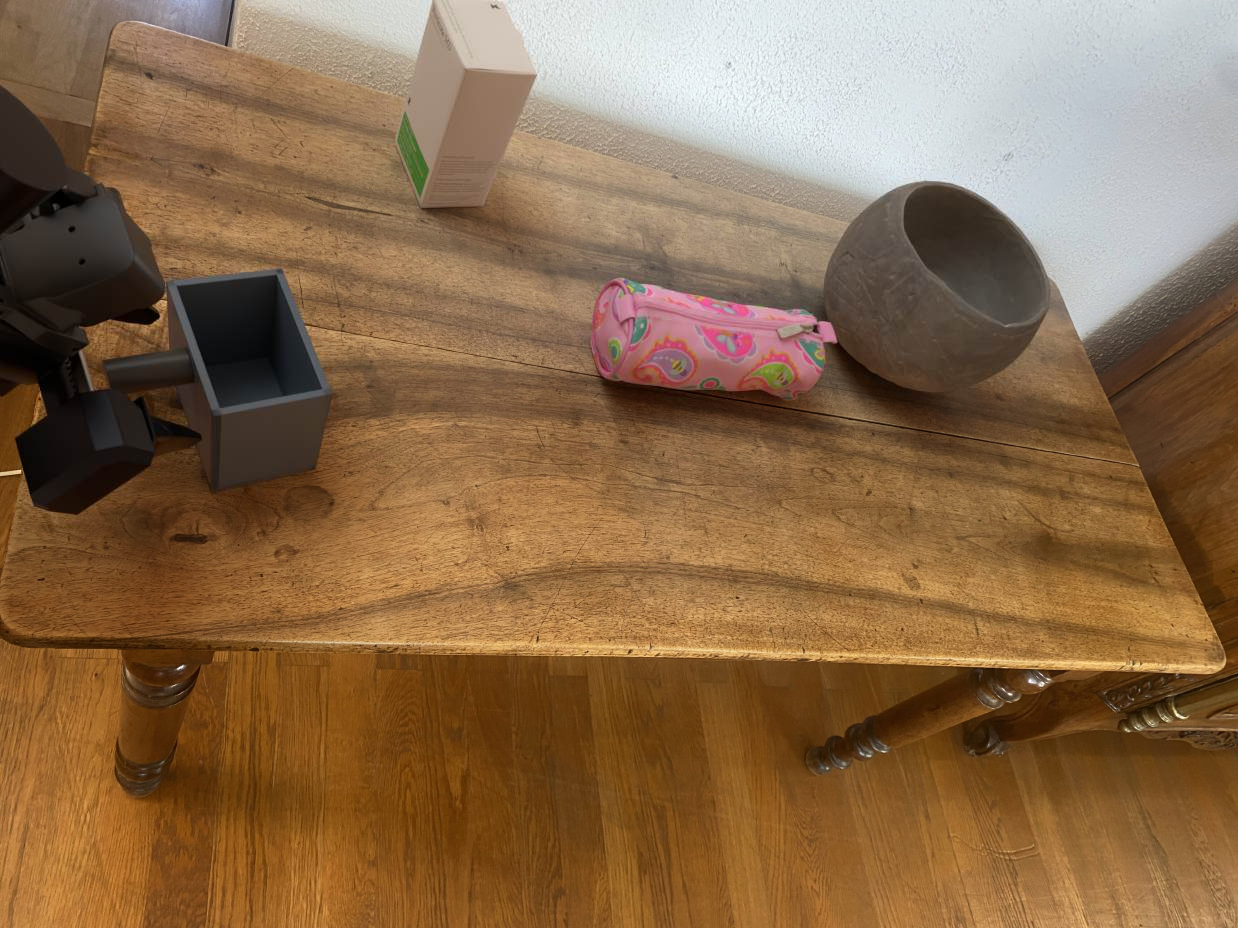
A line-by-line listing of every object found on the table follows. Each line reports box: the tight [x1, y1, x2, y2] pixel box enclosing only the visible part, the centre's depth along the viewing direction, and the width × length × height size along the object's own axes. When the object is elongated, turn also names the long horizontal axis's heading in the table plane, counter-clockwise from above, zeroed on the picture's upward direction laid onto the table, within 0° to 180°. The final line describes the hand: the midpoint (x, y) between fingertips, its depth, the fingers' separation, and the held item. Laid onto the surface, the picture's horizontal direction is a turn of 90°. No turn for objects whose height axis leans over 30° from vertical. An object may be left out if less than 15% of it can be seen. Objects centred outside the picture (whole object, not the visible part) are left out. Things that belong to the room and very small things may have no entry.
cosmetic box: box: [394, 0, 538, 209], centre depth 75 cm, size 8×7×16 cm
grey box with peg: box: [101, 267, 333, 494], centre depth 57 cm, size 12×10×10 cm
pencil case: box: [590, 277, 838, 402], centre depth 78 cm, size 21×9×9 cm, turn 99°
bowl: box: [822, 180, 1052, 393], centre depth 88 cm, size 21×21×15 cm
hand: (175, 378), depth 54 cm, fingers open, 9 cm apart
